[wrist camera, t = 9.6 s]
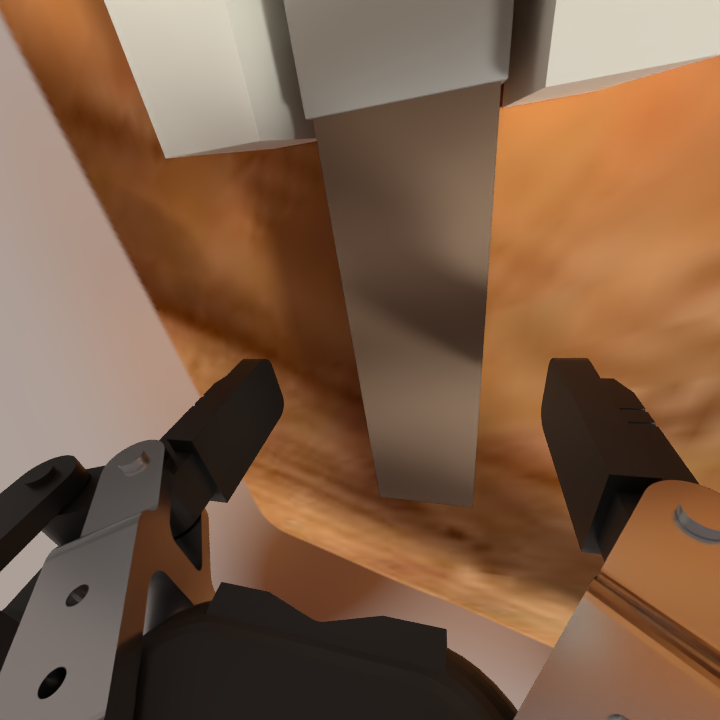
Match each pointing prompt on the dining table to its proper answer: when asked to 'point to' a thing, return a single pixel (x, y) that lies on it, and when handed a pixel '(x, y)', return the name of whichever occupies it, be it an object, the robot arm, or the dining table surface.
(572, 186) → the dining table surface
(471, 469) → the rail
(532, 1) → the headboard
